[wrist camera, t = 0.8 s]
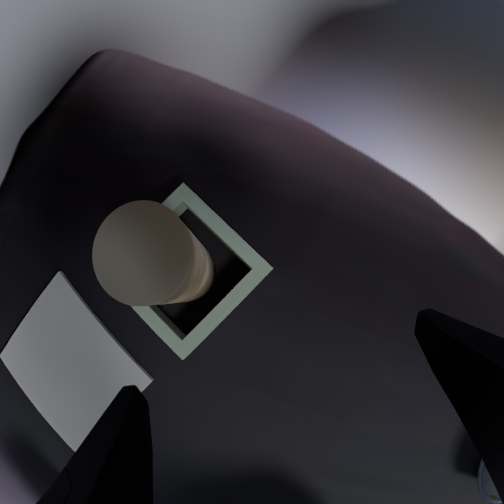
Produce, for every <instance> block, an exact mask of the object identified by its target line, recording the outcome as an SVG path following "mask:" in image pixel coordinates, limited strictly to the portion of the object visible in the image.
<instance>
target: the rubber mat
mask: <svg viewBox="0 0 504 504" xmlns="http://www.w3.org/2000/svg"><path fill="white" fill-rule="evenodd" d="M0 357H1V359H2V361H3V362H4V364H5V365H6V367H7V368H8V370H9V371H10V373H11V374H12V376H13V377H14V379H15V380H16V382H17V383H18V384H19V386H20V387H21V389H22V390H23V391H24V393H25V394H26V395H27V397H28V398H29V399H30V401H31V402H32V403H33V404H34V406H35V407H36V408H37V410H38V411H39V412H40V413H41V414H42V416H43V417H44V418H45V419H46V421H47V422H48V423H49V424H50V425H51V426H52V428H53V429H54V430H55V431H56V432H57V433H58V434H59V435H60V437H61V438H62V439H63V440H64V441H65V442H66V443H67V444H68V445H69V446H70V447H71V448H72V449H73V450H74V451H75V452H76V450H77V449H78V448H79V446H80V445H81V443H82V442H83V441H84V439H85V438H86V436H87V435H88V434H89V432H90V431H91V429H92V428H93V427H94V425H95V424H96V423H97V421H98V420H99V418H100V417H101V416H102V414H103V413H104V412H105V410H106V409H107V407H108V406H109V405H110V403H111V402H112V401H113V399H114V398H115V396H116V395H117V394H118V392H119V391H120V390H121V388H122V387H123V386H128V385H136V386H137V387H138V388H139V390H140V391H141V392H142V391H143V390H144V389H145V388H146V387H147V386H148V385H149V384H150V383H151V382H152V381H153V380H154V379H153V378H152V377H151V376H150V375H149V374H148V373H147V372H146V370H145V369H144V368H143V367H142V366H141V365H140V364H139V363H138V362H137V361H136V360H135V359H134V358H133V357H132V356H131V355H130V354H129V353H128V352H127V350H126V349H125V348H124V347H123V346H122V345H121V344H120V343H119V342H118V341H117V339H116V338H115V337H114V336H113V335H112V334H111V333H110V331H109V330H108V329H107V328H106V327H105V326H104V324H103V323H102V322H101V321H100V320H99V319H98V317H97V316H96V315H95V314H94V312H93V311H92V310H91V309H90V308H89V306H88V305H87V304H86V303H85V301H84V300H83V299H82V297H81V296H80V295H79V294H78V292H77V291H76V290H75V288H74V287H73V286H72V284H71V283H70V282H69V280H68V279H67V278H66V276H65V275H64V273H63V272H62V271H59V272H58V273H57V274H56V275H55V277H54V278H53V279H52V281H51V282H50V283H49V285H48V286H47V287H46V289H45V290H44V291H43V293H42V294H41V295H40V297H39V298H38V299H37V301H36V302H35V303H34V305H33V306H32V308H31V309H30V311H29V312H28V313H27V315H26V316H25V318H24V319H23V321H22V322H21V324H20V325H19V327H18V328H17V330H16V331H15V333H14V334H13V336H12V337H11V339H10V340H9V342H8V343H7V345H6V347H5V348H4V350H3V351H2V353H1V355H0Z"/></svg>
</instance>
